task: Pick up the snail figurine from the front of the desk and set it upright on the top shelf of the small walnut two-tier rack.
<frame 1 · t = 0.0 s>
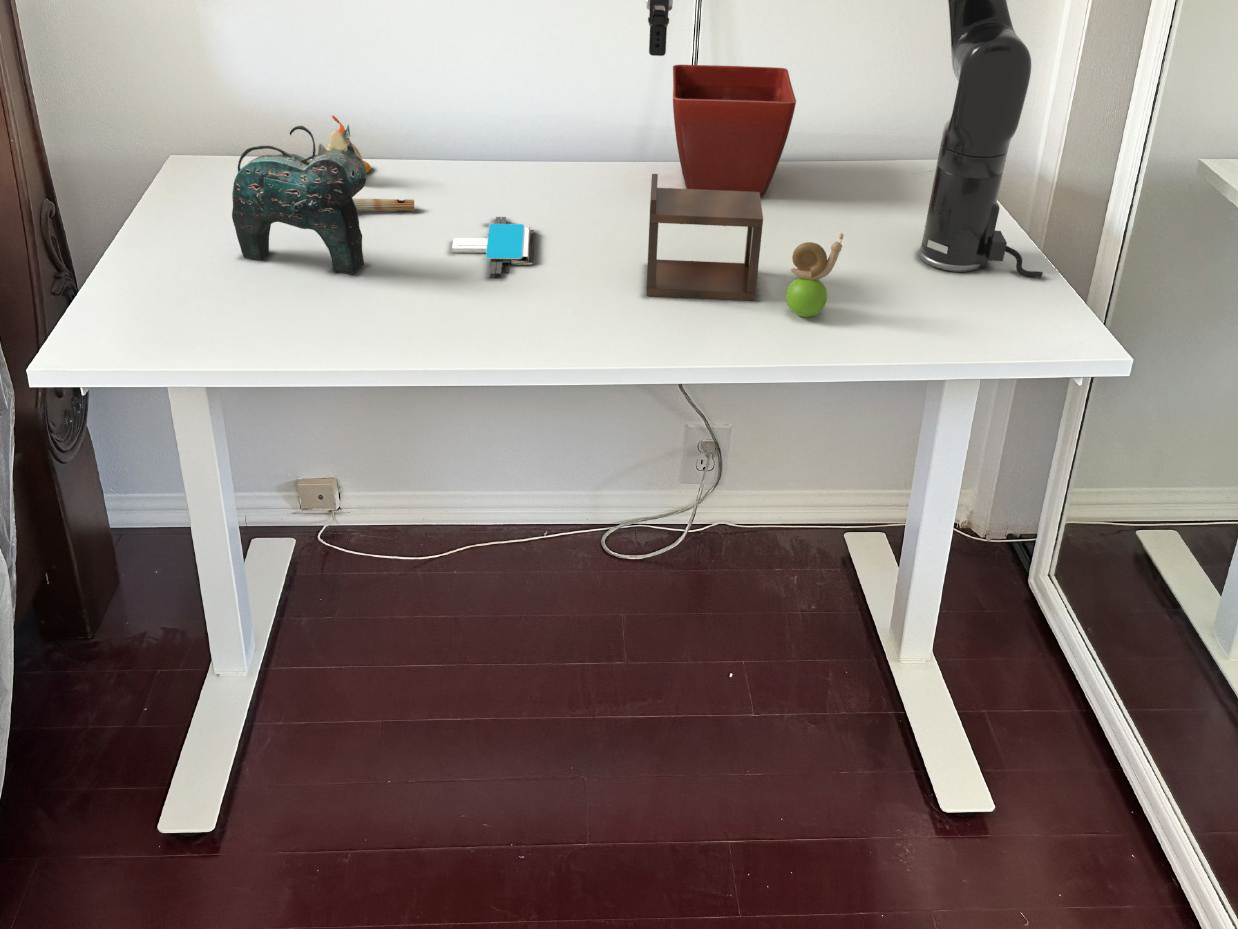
hand: (657, 46, 158), 29 cm above the table, tool pointing down, fingers open, 8 cm apart
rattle: (357, 179, 194), on the table
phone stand: (493, 249, 173), on the table
ceramic cat: (305, 264, 167), on the table
ribbed wooden cylinder: (350, 213, 183), on the table
rack: (700, 283, 165), on the table
flower pot: (724, 183, 197), on the table
snail figurine: (807, 316, 158), on the table
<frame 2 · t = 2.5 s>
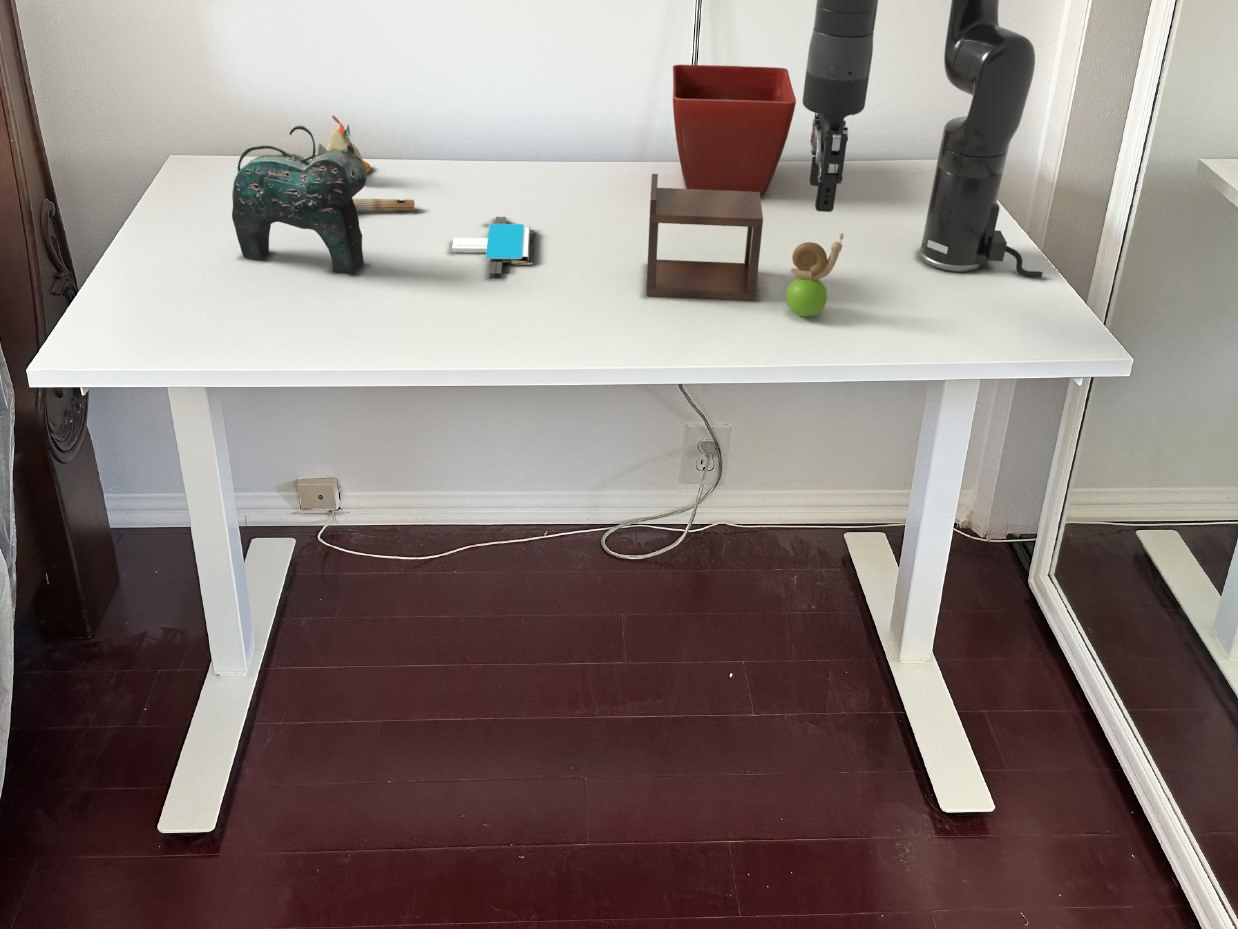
hand: (820, 197, 149), 17 cm above the table, tool pointing down, fingers open, 8 cm apart
nothing on the table moved.
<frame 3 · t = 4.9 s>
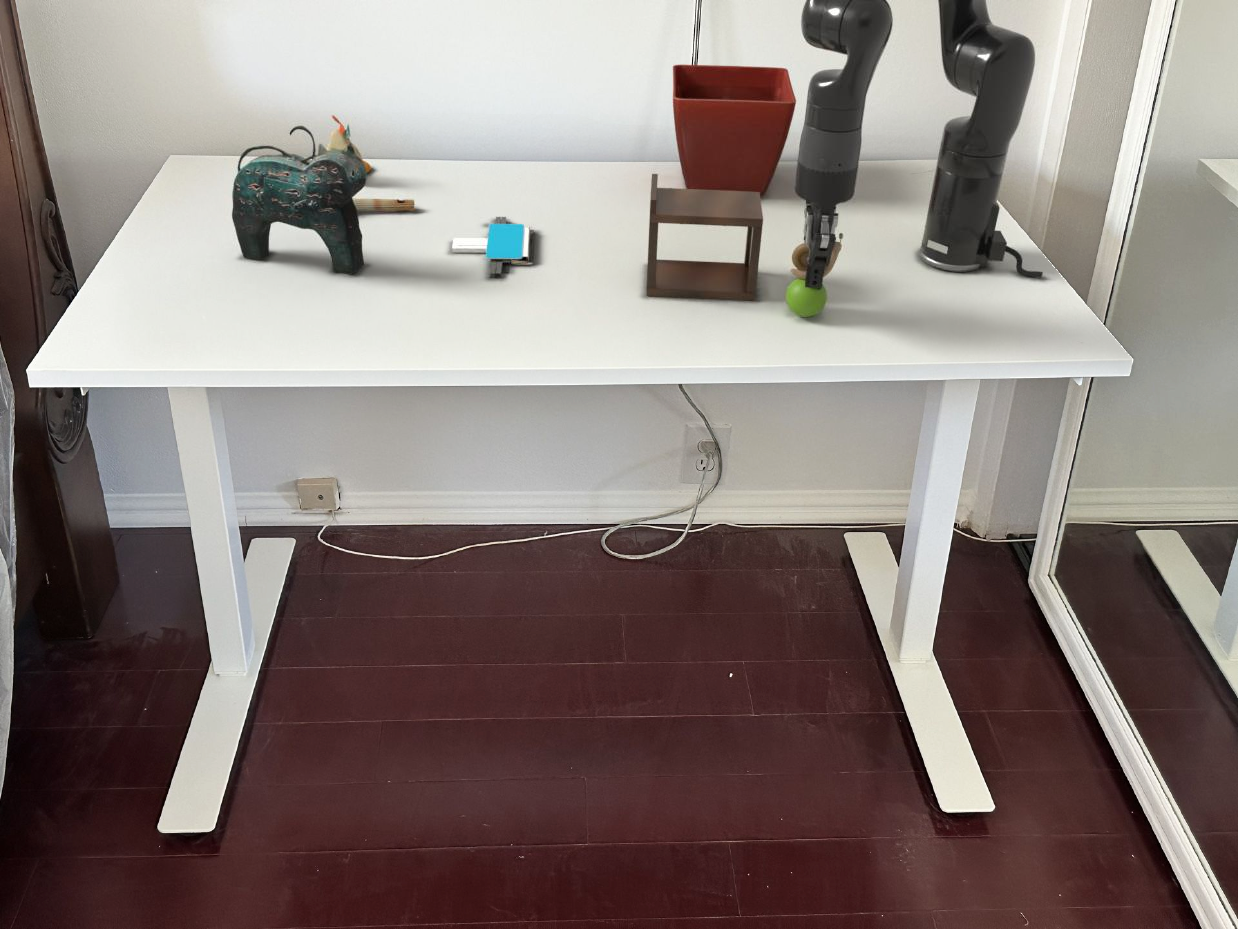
hand: (811, 284, 155), 5 cm above the table, tool pointing down, fingers closed on snail figurine
snail figurine: (807, 316, 158), on the table, touching gripper
everything else where it was.
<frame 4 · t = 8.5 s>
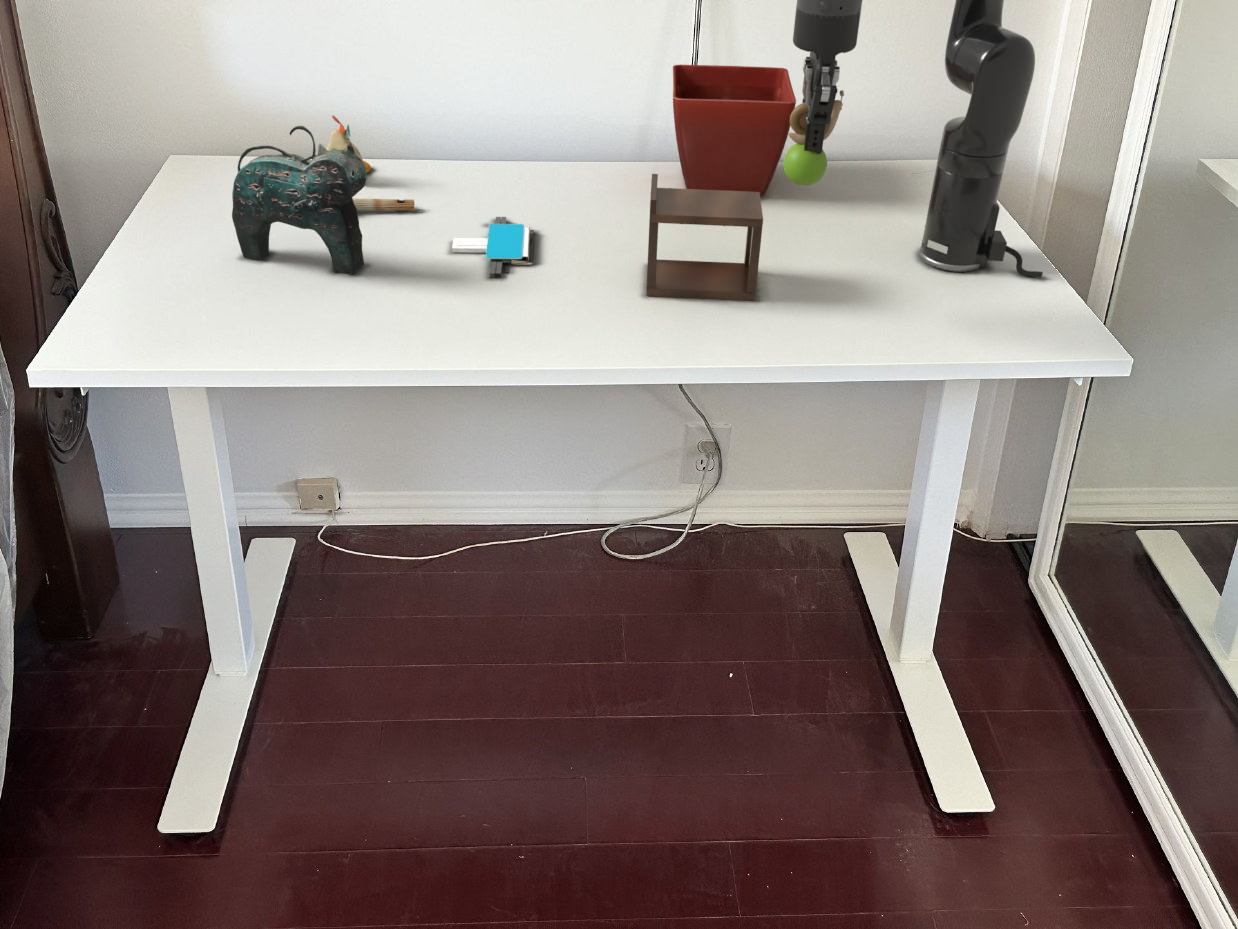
hand: (811, 149, 146), 23 cm above the table, tool pointing down, fingers closed on snail figurine
snail figurine: (806, 185, 149), point 18 cm above the table, touching gripper
everything else where it was.
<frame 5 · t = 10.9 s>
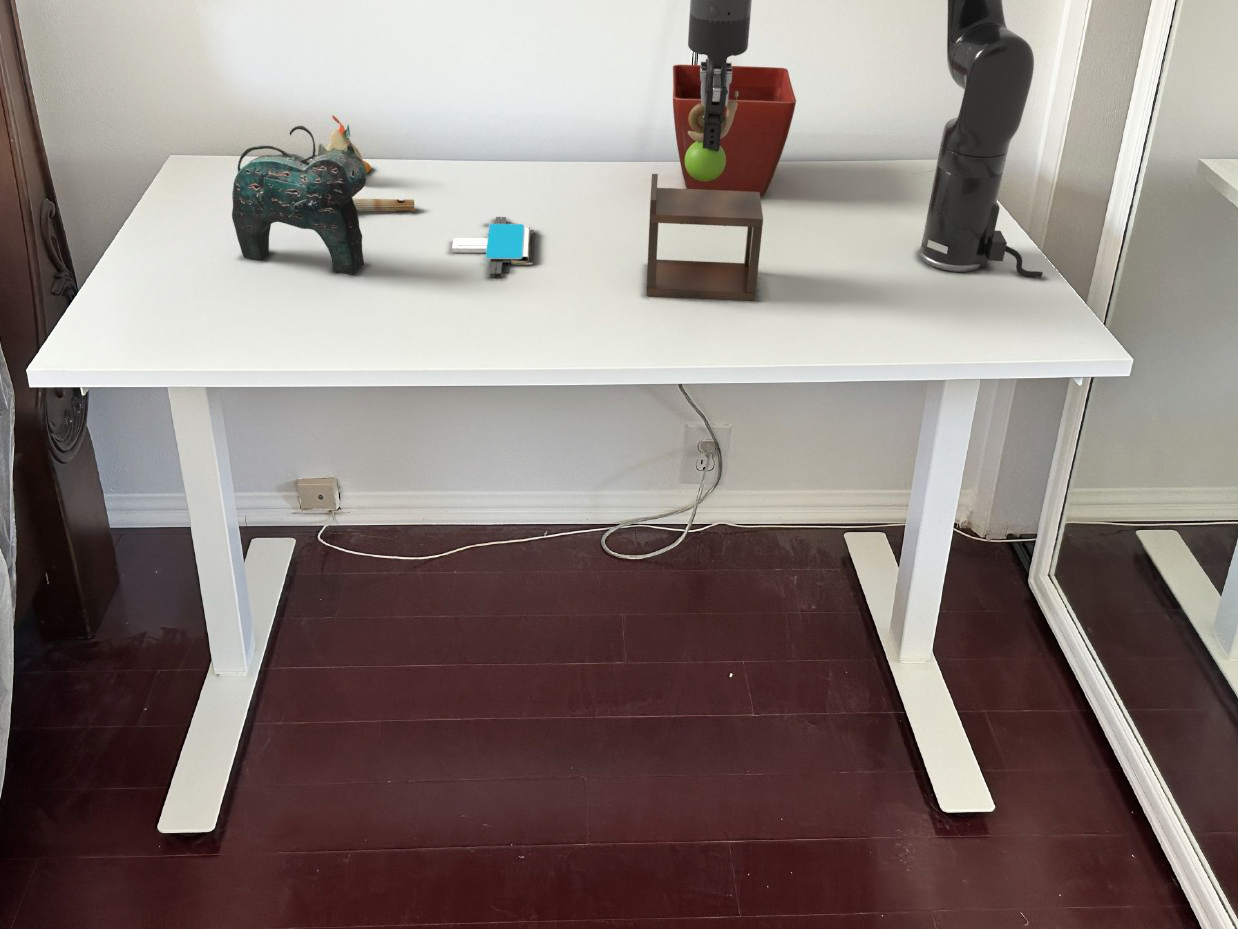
hand: (710, 147, 154), 20 cm above the table, tool pointing down, fingers closed on snail figurine
snail figurine: (707, 181, 157), point 15 cm above the table, touching gripper
everything else where it was.
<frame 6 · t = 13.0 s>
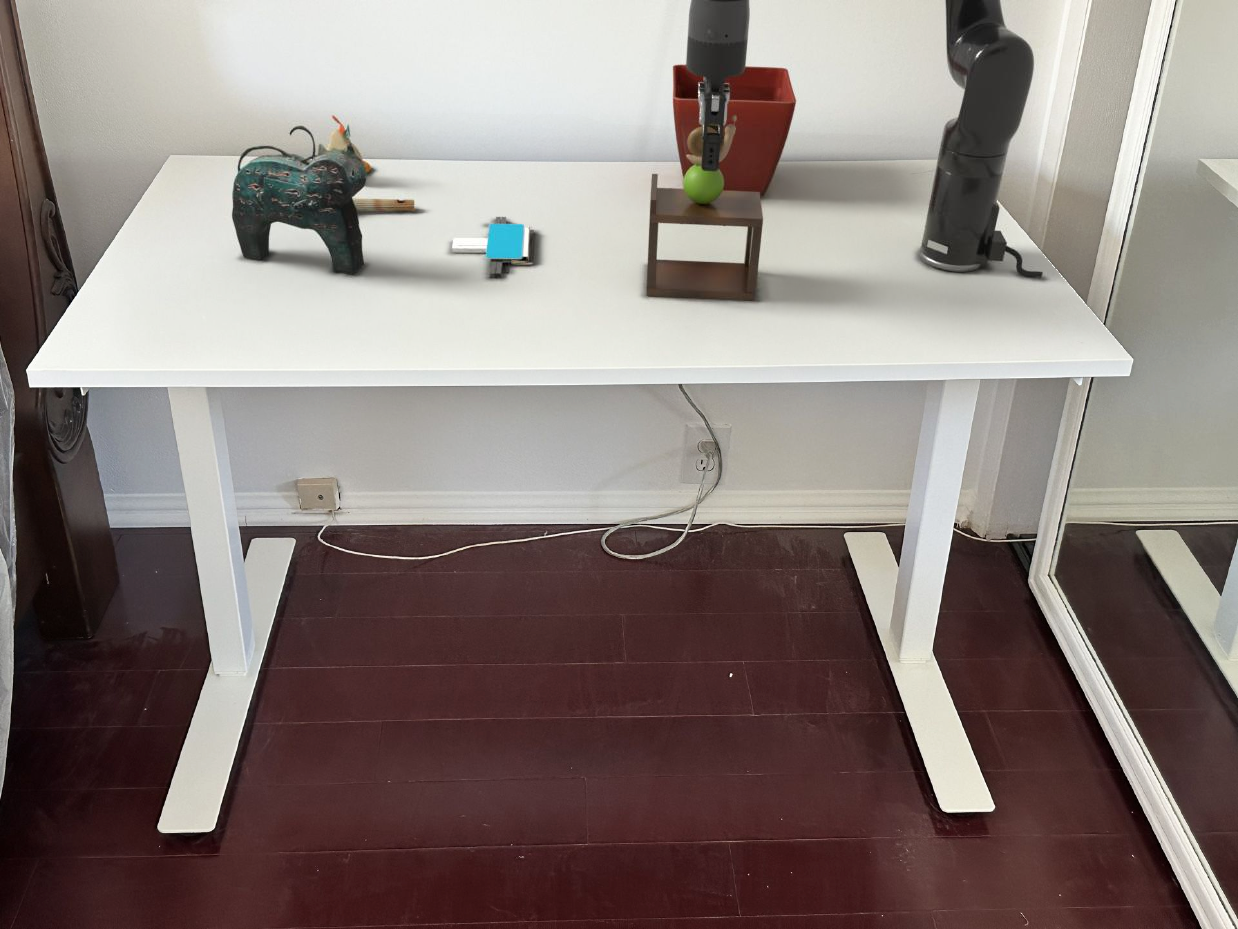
hand: (709, 158, 155), 18 cm above the table, tool pointing down, fingers open, 8 cm apart
snail figurine: (705, 204, 158), point 12 cm above the table, touching rack
everything else where it was.
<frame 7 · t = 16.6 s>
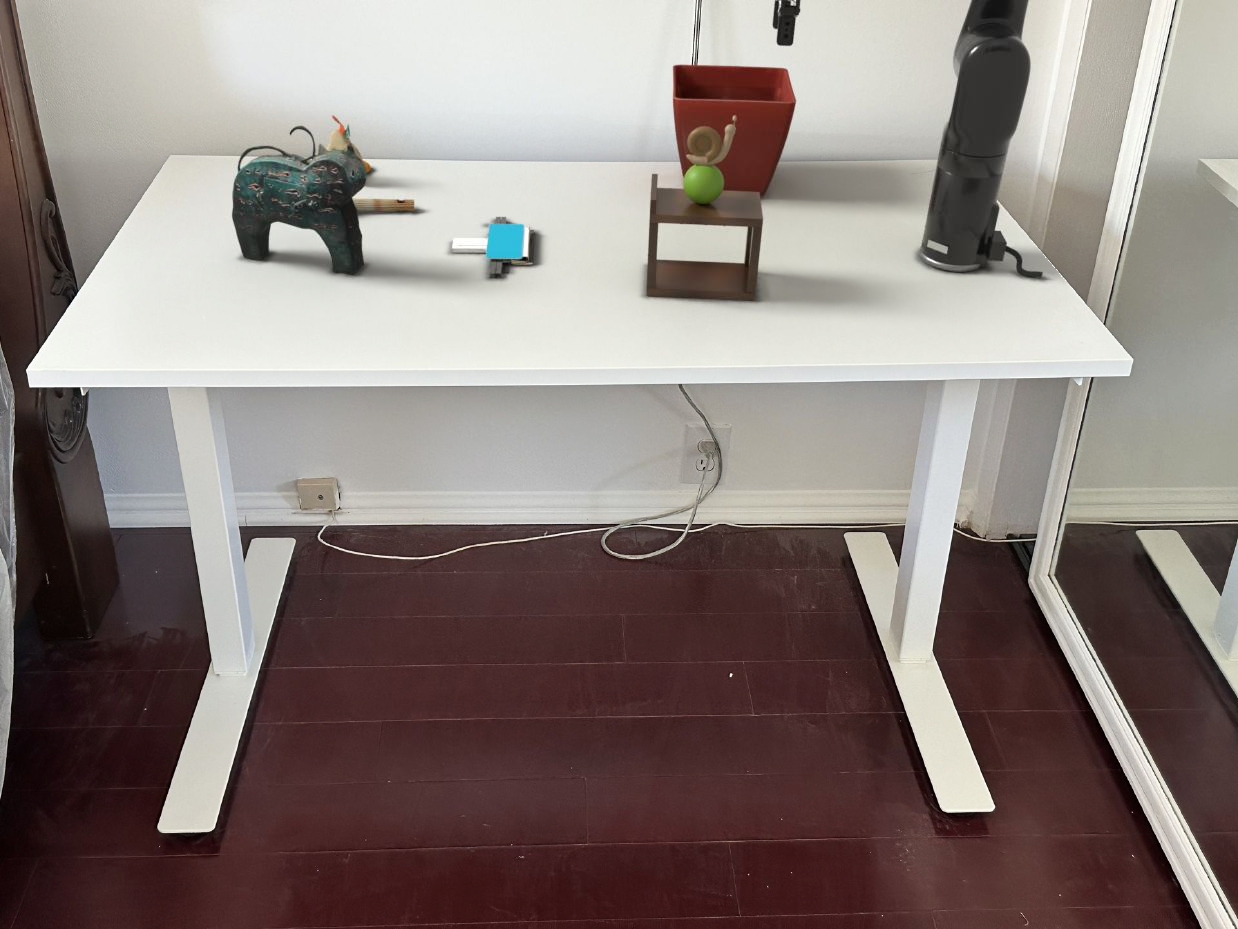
hand: (782, 36, 161), 30 cm above the table, tool pointing down, fingers open, 8 cm apart
nothing on the table moved.
at the end: snail figurine inside the target area on the rack (0.0 cm from its centre), point 11.8 cm above the rack's base; snail figurine tilted 0°; the gripper is holding nothing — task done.
